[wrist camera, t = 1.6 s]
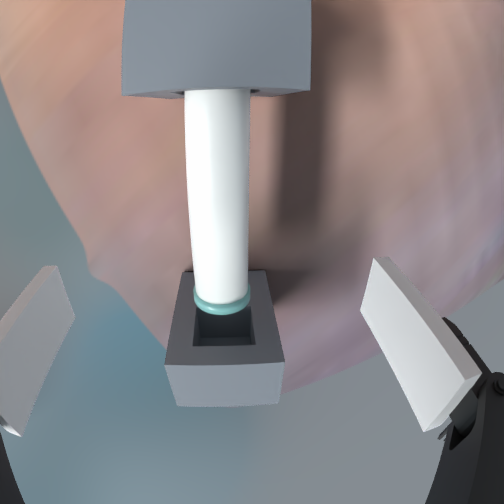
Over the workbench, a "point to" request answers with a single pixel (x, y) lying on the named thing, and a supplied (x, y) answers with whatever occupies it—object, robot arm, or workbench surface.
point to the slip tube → (218, 196)
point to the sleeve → (216, 47)
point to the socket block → (225, 350)
